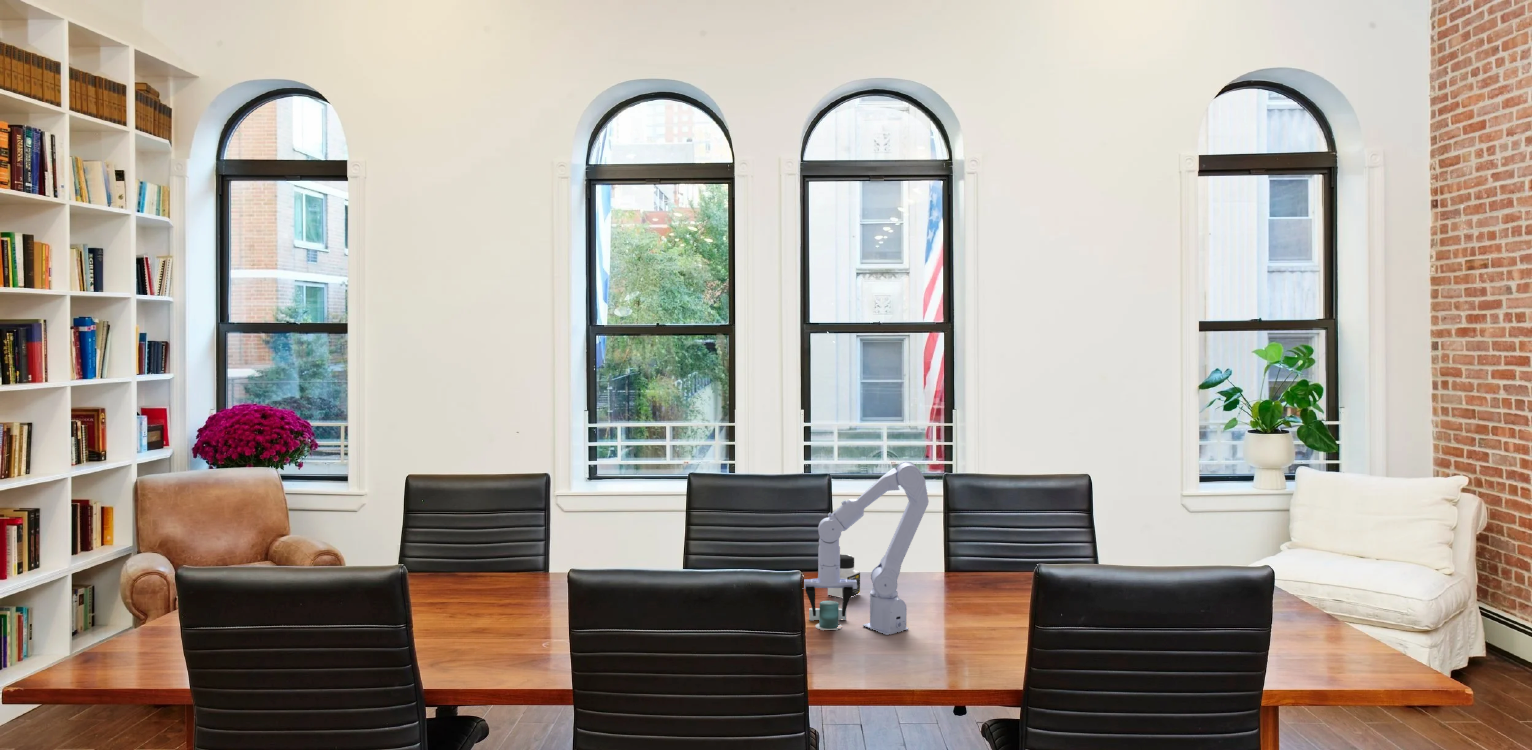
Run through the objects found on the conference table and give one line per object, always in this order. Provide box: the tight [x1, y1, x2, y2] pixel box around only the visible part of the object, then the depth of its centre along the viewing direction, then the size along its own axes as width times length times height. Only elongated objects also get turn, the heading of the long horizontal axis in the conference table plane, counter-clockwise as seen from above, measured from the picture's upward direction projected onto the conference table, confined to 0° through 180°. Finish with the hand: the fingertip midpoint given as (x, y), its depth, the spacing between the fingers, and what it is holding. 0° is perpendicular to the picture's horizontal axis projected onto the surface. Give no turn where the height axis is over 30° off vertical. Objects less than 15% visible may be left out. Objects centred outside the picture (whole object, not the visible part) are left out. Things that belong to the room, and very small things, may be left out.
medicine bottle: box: [827, 553, 861, 597], centre depth 270 cm, size 7×7×12 cm
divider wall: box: [808, 607, 847, 621], centre depth 246 cm, size 10×1×3 cm, turn 89°
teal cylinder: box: [819, 600, 840, 629], centre depth 240 cm, size 5×5×6 cm
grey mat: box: [815, 623, 843, 631], centre depth 240 cm, size 7×7×1 cm
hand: (828, 615), depth 240 cm, fingers open, 7 cm apart
